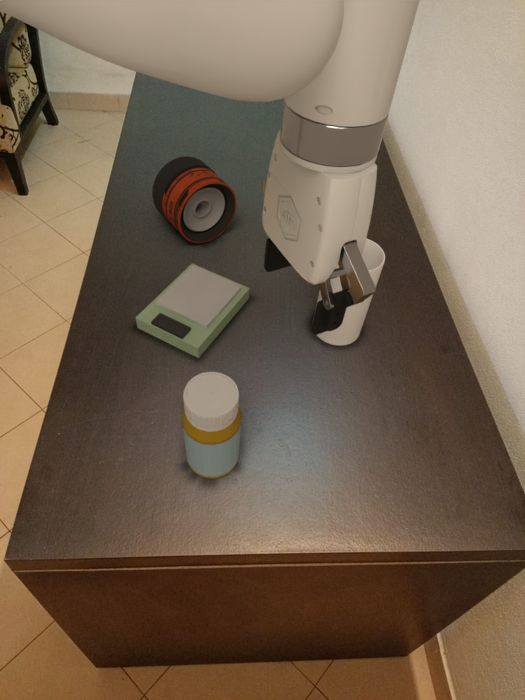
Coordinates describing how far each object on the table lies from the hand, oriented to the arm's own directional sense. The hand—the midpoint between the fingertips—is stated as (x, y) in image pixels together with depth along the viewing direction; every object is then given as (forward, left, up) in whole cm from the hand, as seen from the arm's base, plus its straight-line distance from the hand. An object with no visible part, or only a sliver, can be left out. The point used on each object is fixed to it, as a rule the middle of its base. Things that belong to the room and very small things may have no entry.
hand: (300, 296), depth 48 cm
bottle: (-9, +5, -25) cm, 27 cm away
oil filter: (+32, +36, -25) cm, 55 cm away
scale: (+12, +22, -25) cm, 36 cm away
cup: (+22, 0, -25) cm, 34 cm away
